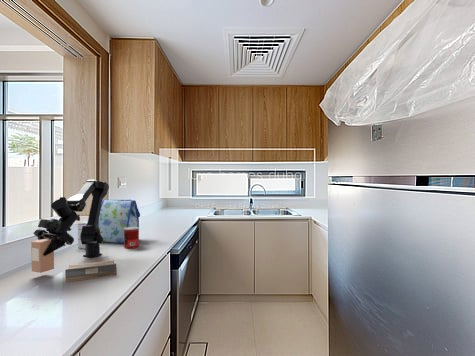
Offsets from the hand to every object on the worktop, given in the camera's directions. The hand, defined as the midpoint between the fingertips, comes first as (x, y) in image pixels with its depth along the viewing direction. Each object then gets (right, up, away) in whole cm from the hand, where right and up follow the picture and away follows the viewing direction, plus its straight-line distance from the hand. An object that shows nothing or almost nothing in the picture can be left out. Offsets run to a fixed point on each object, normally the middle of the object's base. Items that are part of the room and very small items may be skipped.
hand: (39, 254), depth 118 cm
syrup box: (-8, -9, +51) cm, 52 cm away
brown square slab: (+18, -9, +6) cm, 21 cm away
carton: (+1, -7, +1) cm, 7 cm away
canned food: (+19, -9, +50) cm, 54 cm away
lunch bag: (+5, -9, +67) cm, 68 cm away
